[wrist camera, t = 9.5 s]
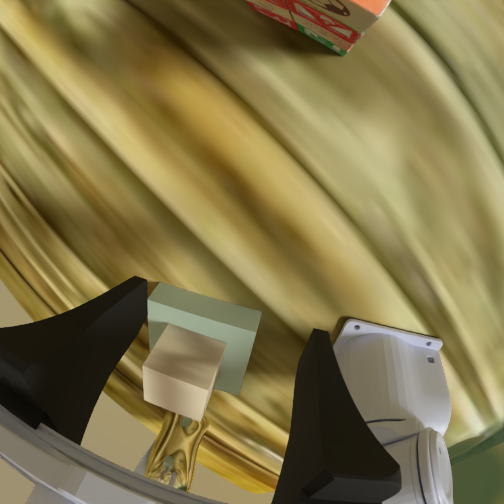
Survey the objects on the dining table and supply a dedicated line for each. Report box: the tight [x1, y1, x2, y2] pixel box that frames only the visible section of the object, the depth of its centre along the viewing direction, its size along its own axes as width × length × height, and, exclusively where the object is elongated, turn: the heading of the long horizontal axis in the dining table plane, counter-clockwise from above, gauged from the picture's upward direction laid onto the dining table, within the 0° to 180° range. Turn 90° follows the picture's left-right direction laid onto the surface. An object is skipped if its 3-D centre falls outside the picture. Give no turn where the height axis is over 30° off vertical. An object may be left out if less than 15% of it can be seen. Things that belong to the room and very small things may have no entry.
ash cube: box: [143, 323, 227, 422], centre depth 24 cm, size 5×5×5 cm
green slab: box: [147, 282, 262, 395], centre depth 28 cm, size 9×9×3 cm
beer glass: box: [134, 410, 209, 493], centre depth 31 cm, size 7×7×15 cm
